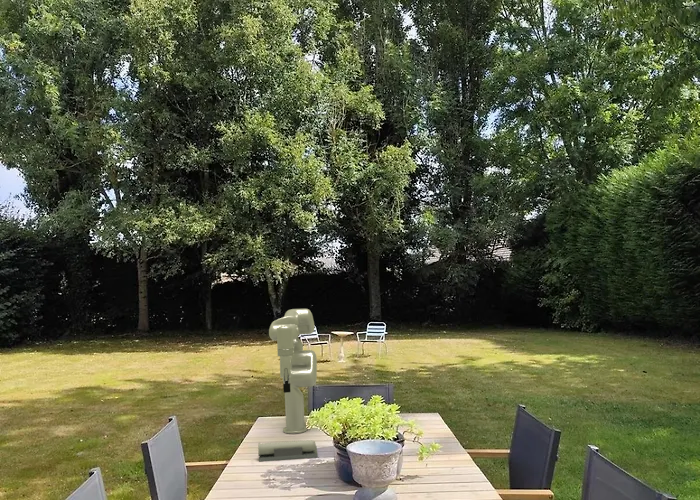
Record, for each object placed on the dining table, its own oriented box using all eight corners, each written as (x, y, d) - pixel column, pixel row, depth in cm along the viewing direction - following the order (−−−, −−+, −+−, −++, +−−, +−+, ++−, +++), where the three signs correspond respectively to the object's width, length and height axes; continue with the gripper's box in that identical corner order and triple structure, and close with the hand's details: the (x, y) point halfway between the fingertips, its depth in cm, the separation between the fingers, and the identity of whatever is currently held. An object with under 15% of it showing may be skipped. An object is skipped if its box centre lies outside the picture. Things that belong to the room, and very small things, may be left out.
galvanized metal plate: (260, 453, 253) (260, 443, 254) (316, 449, 256) (316, 439, 256) (259, 461, 241) (258, 450, 242) (317, 457, 244) (317, 446, 244)
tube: (315, 439, 252) (258, 443, 249) (315, 438, 247) (258, 442, 244) (315, 452, 250) (258, 456, 247) (316, 451, 245) (258, 455, 242)
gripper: (278, 351, 271) (279, 389, 270) (277, 354, 256) (278, 395, 255) (293, 350, 272) (295, 388, 271) (293, 354, 257) (295, 394, 256)
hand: (287, 392), depth 263 cm, fingers closed
